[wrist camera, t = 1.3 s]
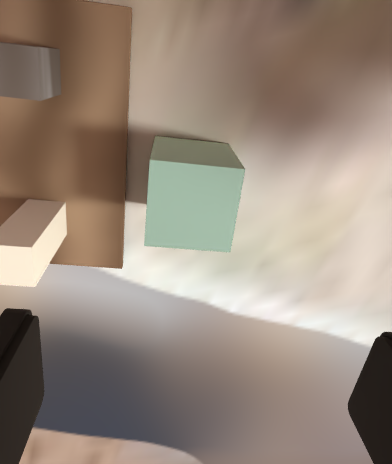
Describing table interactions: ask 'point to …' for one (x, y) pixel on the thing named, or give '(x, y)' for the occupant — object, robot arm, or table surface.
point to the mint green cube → (192, 194)
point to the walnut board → (67, 119)
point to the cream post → (31, 241)
